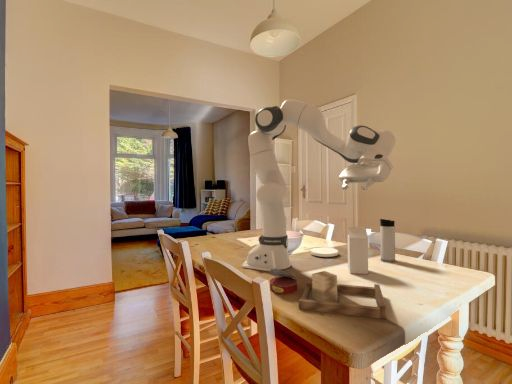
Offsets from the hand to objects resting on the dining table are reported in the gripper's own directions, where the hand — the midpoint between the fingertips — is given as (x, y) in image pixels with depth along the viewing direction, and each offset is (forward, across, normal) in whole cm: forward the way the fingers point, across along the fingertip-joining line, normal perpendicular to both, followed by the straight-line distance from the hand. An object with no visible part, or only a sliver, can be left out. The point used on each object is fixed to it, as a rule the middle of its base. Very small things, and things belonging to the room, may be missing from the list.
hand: (353, 188), depth 105 cm
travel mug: (+1, -11, +49) cm, 51 cm away
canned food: (+45, -8, +6) cm, 46 cm away
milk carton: (+18, -8, +32) cm, 38 cm away
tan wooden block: (+40, +7, +10) cm, 42 cm away
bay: (+38, +10, +12) cm, 41 cm away
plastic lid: (+13, -36, +38) cm, 54 cm away
